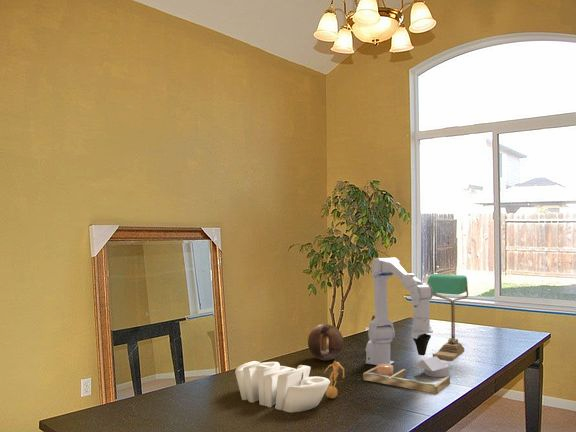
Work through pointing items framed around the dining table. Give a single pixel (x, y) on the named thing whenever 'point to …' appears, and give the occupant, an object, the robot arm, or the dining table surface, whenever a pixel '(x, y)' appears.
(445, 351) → the banker's lamp
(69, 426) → the dining table surface
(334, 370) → the figurine
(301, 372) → the white wavy slab sculpture
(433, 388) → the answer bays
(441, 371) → the wedge on round base
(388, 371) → the tan smooth rounded piece
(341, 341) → the wooden sphere
